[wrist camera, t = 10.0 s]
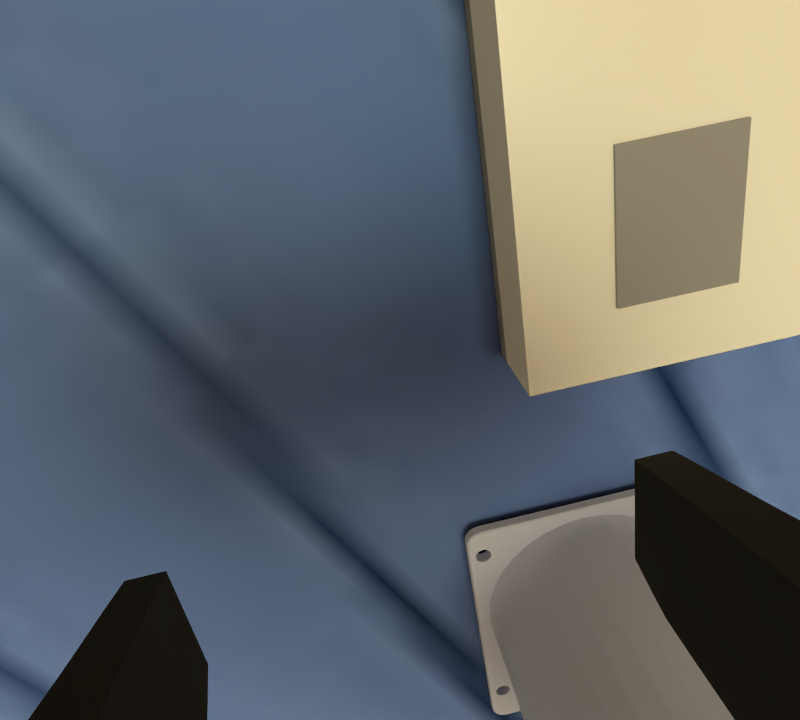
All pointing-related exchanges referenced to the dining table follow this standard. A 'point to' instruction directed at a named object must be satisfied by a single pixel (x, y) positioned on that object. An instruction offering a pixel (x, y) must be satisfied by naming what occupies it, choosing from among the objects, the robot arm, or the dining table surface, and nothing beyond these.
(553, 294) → the power strip
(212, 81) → the dining table surface
